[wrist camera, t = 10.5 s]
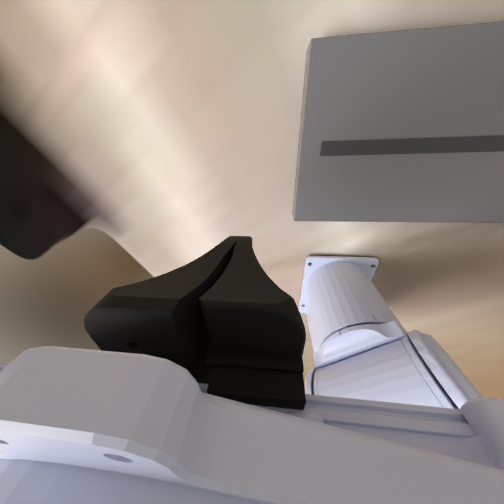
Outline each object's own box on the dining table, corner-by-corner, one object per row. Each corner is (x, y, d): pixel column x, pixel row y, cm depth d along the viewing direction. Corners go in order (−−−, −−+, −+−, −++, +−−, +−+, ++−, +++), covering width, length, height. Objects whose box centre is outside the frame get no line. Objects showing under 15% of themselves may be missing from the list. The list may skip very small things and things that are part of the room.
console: (582, 214, 17) (619, 223, 15) (292, 213, 19) (294, 221, 18) (774, 13, 10) (875, -13, 9) (306, 51, 13) (311, 38, 11)
